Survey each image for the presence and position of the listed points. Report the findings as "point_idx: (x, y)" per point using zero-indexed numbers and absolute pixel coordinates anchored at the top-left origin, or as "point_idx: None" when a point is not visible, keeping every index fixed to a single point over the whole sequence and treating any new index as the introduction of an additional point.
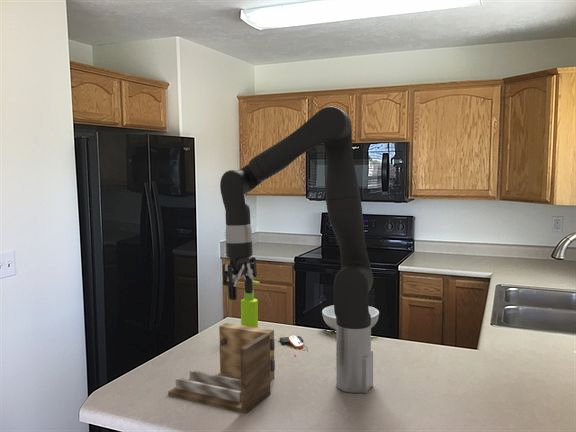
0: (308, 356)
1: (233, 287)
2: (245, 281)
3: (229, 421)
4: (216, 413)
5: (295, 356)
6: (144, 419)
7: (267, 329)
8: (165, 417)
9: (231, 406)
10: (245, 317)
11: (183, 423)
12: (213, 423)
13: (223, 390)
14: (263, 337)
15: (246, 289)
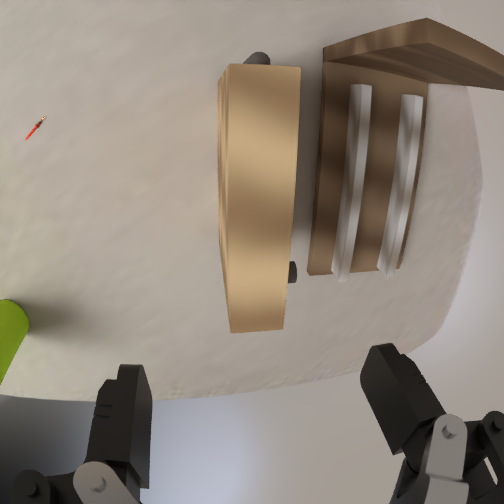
0: (23, 92)
1: (434, 418)
2: (147, 480)
3: (453, 93)
4: (438, 130)
5: (40, 122)
6: (469, 236)
7: (234, 100)
8: (462, 210)
9: (425, 107)
10: (5, 356)
11: (473, 170)
12: (464, 119)
13: (417, 143)
14: (462, 38)
15: (148, 415)
